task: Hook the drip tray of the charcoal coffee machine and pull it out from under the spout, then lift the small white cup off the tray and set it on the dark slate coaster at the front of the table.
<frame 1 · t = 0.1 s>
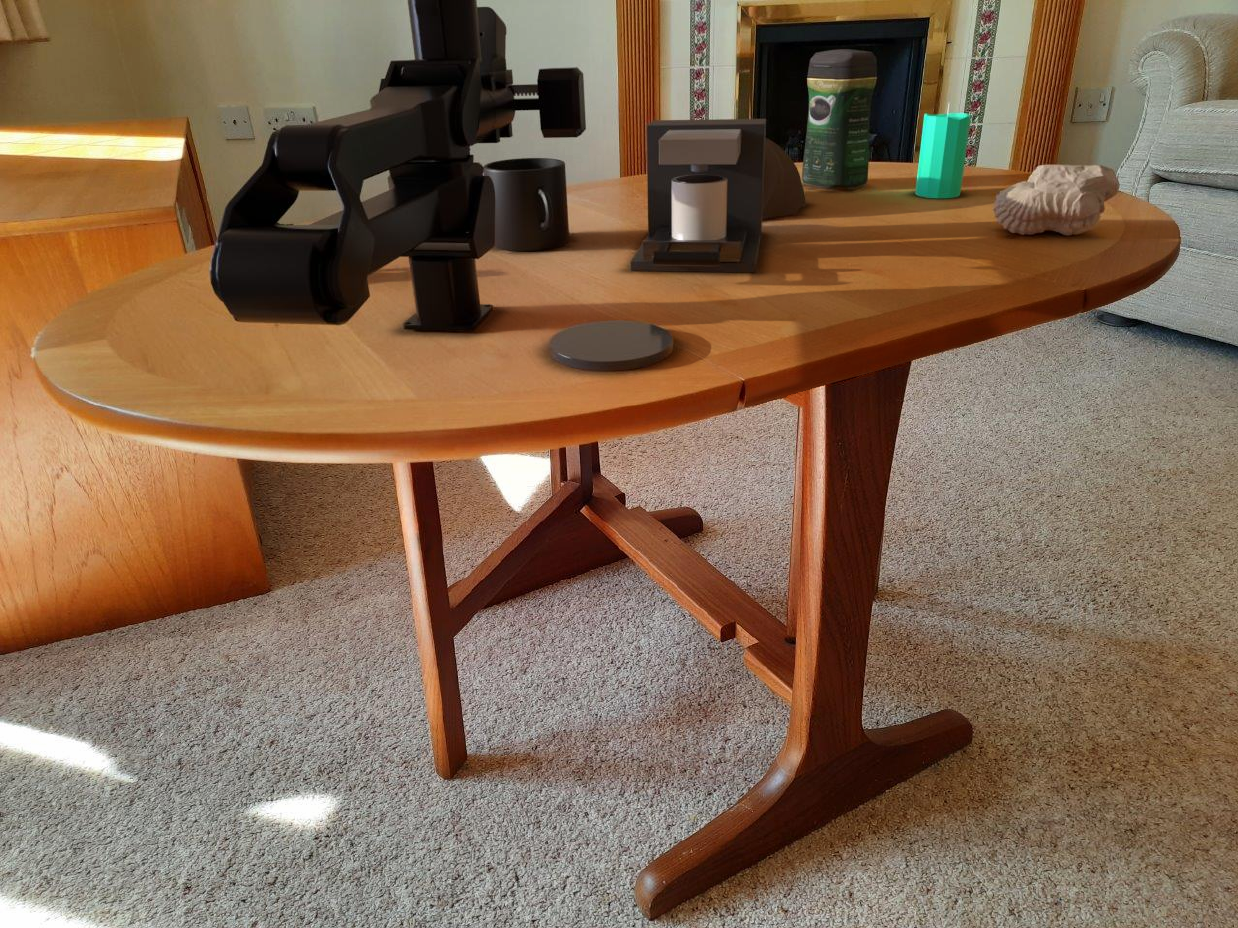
hand: (514, 97, 95), 17 cm above the table, tool horizontal, fingers open, 9 cm apart
coffee machine: (701, 248, 101), on the table
coffee jar: (833, 187, 133), on the table
decorative dome: (733, 208, 122), on the table
drip tray: (694, 242, 94), point 2 cm above the table, slide at 0.0 cm, touching white cup
eagle figurine: (292, 282, 94), on the table
fossil replica: (1046, 235, 102), on the table
candle: (937, 195, 125), on the table
coaster: (611, 349, 72), on the table
mug: (534, 246, 105), on the table
white cup: (698, 235, 97), point 2 cm above the table, touching drip tray
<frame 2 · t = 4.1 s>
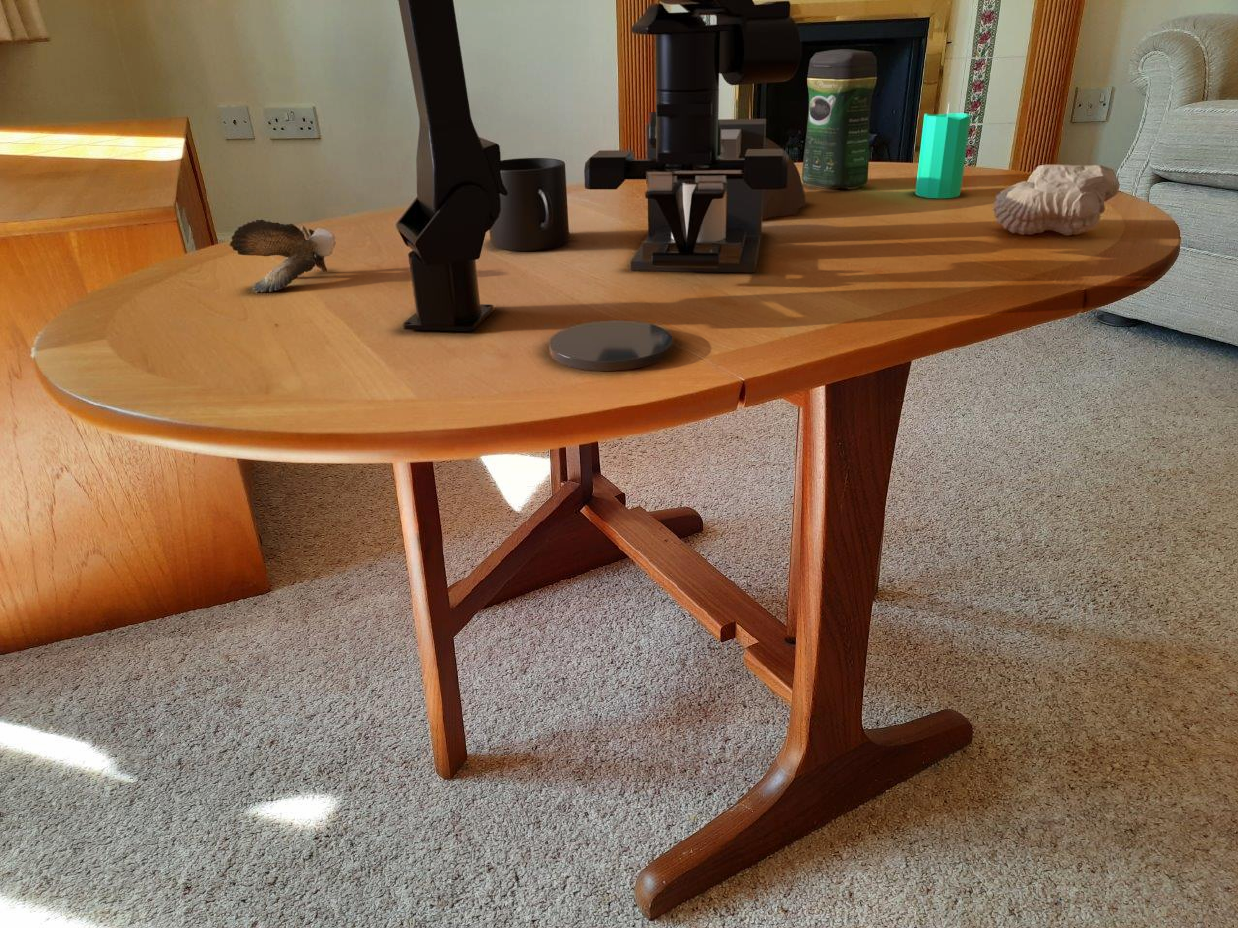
hand: (686, 260, 87), 2 cm above the table, tool pointing down, fingers closed, pressing on drip tray
drip tray: (694, 243, 93), point 2 cm above the table, slide at 0.5 cm, touching gripper, white cup
everything else where it was.
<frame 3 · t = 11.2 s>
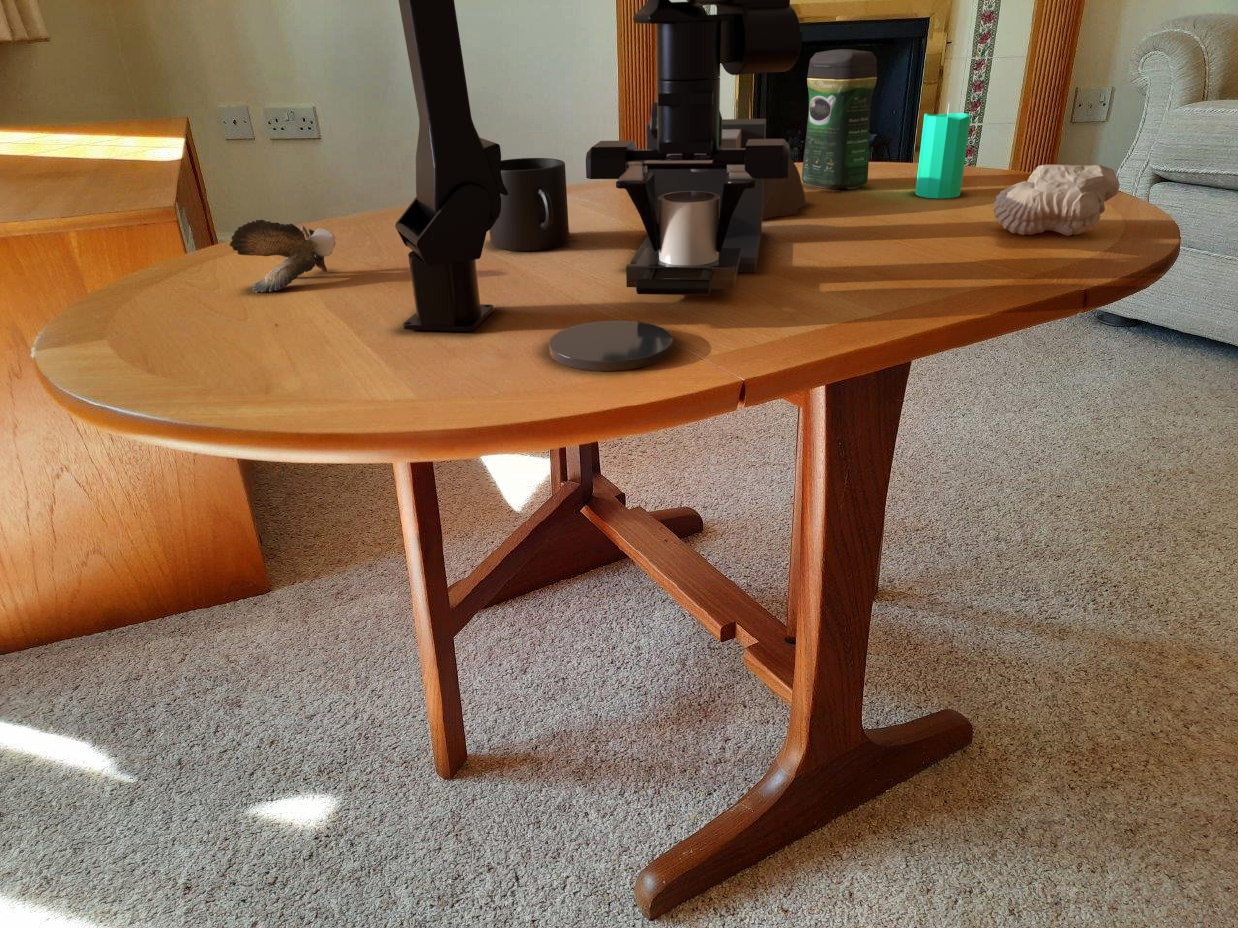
hand: (687, 250, 87), 3 cm above the table, tool pointing down, fingers closed on white cup, 6 cm apart
drip tray: (684, 266, 85), point 2 cm above the table, slide at 9.9 cm, touching white cup
white cup: (688, 258, 89), point 2 cm above the table, touching drip tray, gripper
everything else where it was.
when the fingers open (2 cm above the table, at t = 17.0 s): white cup stays where it is, resting on coaster.
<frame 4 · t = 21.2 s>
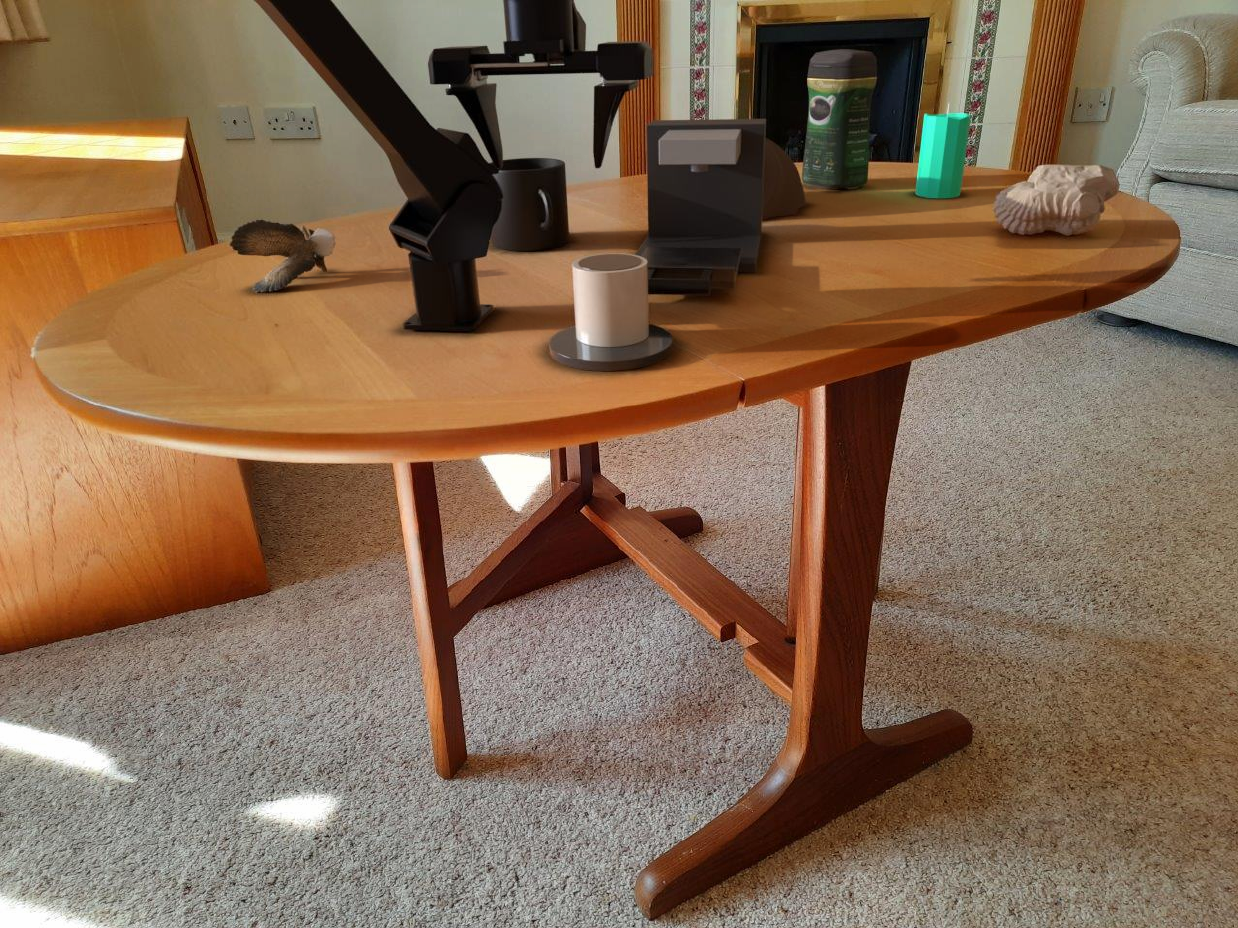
hand: (548, 168, 80), 12 cm above the table, tool pointing down, fingers open, 9 cm apart
drip tray: (684, 266, 85), point 2 cm above the table, slide at 9.9 cm
white cup: (612, 335, 73), point 1 cm above the table, touching coaster
everything else where it was.
at the end: drip tray slide at 9.9 cm; white cup 1.1 cm off-centre on the coaster, point 0.8 cm above the coaster's base; white cup tilted 0° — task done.
